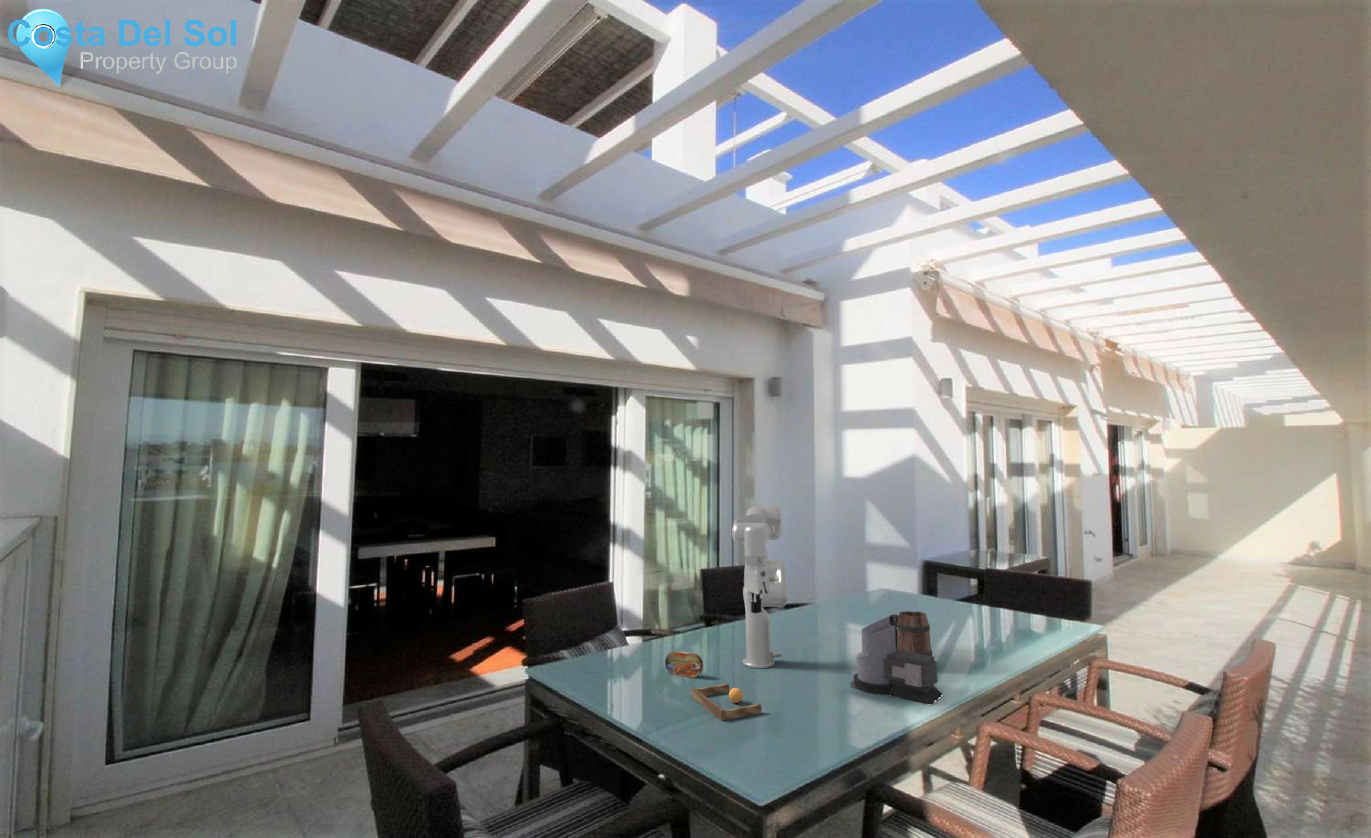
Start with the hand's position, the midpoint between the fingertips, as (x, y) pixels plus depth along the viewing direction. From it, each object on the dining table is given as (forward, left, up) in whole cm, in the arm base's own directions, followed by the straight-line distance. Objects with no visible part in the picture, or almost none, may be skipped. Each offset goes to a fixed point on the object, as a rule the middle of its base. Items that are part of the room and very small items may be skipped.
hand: (756, 612), depth 221 cm
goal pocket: (+19, +12, -25) cm, 34 cm away
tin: (+19, -21, -25) cm, 38 cm away
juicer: (-39, +25, -25) cm, 53 cm away
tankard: (-65, +5, -25) cm, 70 cm away
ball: (+15, +12, -23) cm, 30 cm away
